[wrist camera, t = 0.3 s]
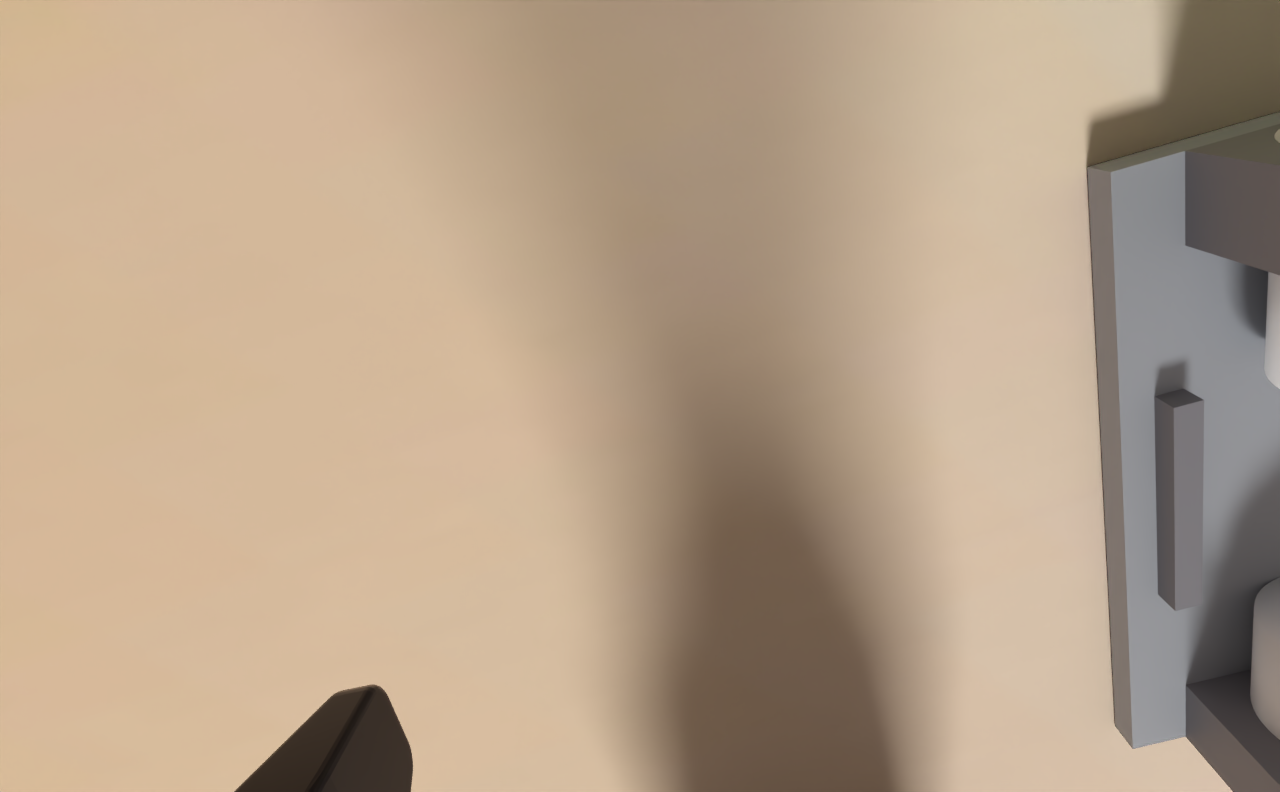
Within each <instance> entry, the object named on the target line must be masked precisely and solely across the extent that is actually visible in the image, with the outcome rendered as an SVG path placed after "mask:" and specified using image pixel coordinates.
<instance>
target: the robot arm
mask: <svg viewBox="0 0 1280 792" xmlns="http://www.w3.org/2000/svg"><path fill="white" fill-rule="evenodd" d="M412 773H413V760H412V753H411V749H410V745H409V742H408V740H407V738H406V736H405V733H404V731H403V729H402V727H401V724H400V722H399V720H398V718H397V715H396V713H395V711H394V709H393V707H392V704H391V702H390V700H389V698H388V696H387V694H386V692H385V691H384V690H383V689H382V688H381V687H380V686H377V685H367V686H362V687H357V688H352V689H347V690H343V691H340V692H337V693H335V694H334V695H333V696H331V697H330V698H329V699H328V700H327V701H326V702H325V703H324V704H323V705H322V706H321V707H320V708H319V709H318V710H317V711H316V712H315V713H314V714H313V715H312V716H311V717H310V718H309V719H308V720H307V721H306V722H305V723H304V724H303V725H302V726H301V727H300V728H299V729H298V730H296V731H295V732H294V733H293V734H292V735H291V736H290V737H289V738H288V739H287V740H286V741H285V742H284V743H283V744H282V745H281V746H280V747H279V748H278V749H277V750H276V751H275V752H274V753H273V754H272V755H271V756H270V757H269V758H268V759H267V760H266V761H265V762H264V763H263V764H262V765H261V766H260V767H259V768H258V769H257V770H256V771H255V772H254V773H253V774H252V775H251V776H250V777H249V778H248V779H247V780H246V781H245V782H244V783H243V784H242V785H240V786H239V787H238V788H237V789H236V790H235V791H234V792H411V784H412Z"/></svg>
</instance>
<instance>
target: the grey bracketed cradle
mask: <svg viewBox="0 0 1280 792" xmlns="http://www.w3.org/2000/svg"><path fill="white" fill-rule="evenodd" d="M1087 171H1088V191H1089V211H1090V231H1091V251H1092V271H1093V291H1094V311H1095V331H1096V351H1097V371H1098V391H1099V411H1100V431H1101V451H1102V471H1103V491H1104V511H1105V531H1106V551H1107V571H1108V590H1109V610H1110V630H1111V650H1112V670H1113V690H1114V710H1115V726H1116V728H1117V729H1118V730H1119V732H1120V733H1121V734H1122V736H1123V737H1124V738H1125V739H1126V741H1127V742H1128V743H1129V745H1130V746H1131V747H1132V748H1133V749H1135V748H1139V747H1143V746H1147V745H1152V744H1156V743H1160V742H1164V741H1169V740H1173V739H1177V738H1181V737H1187V739H1188V740H1189V741H1190V742H1191V743H1192V744H1193V746H1194V747H1195V748H1196V749H1197V750H1198V751H1199V752H1200V754H1201V755H1202V756H1203V757H1204V758H1205V759H1206V761H1207V762H1208V763H1209V764H1210V765H1211V766H1212V768H1213V769H1214V770H1215V771H1216V772H1217V773H1218V774H1219V776H1220V777H1221V778H1222V779H1223V780H1224V781H1225V783H1226V784H1227V785H1228V786H1229V787H1230V788H1231V790H1232V791H1233V792H1280V112H1277V113H1274V114H1270V115H1267V116H1263V117H1260V118H1256V119H1253V120H1249V121H1246V122H1242V123H1239V124H1236V125H1232V126H1229V127H1225V128H1222V129H1218V130H1215V131H1211V132H1208V133H1204V134H1201V135H1197V136H1194V137H1190V138H1187V139H1183V140H1180V141H1177V142H1173V143H1170V144H1166V145H1163V146H1159V147H1156V148H1152V149H1149V150H1145V151H1142V152H1138V153H1135V154H1131V155H1128V156H1124V157H1121V158H1117V159H1114V160H1111V161H1107V162H1104V163H1100V164H1097V165H1093V166H1090V167H1087Z"/></svg>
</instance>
